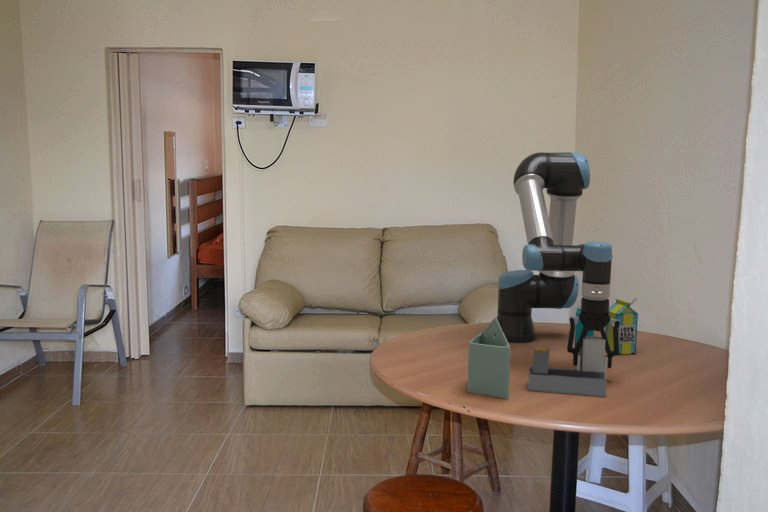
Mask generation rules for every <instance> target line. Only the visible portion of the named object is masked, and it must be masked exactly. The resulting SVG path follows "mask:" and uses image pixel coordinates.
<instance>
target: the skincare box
mask: <svg viewBox="0 0 768 512" xmlns="http://www.w3.org/2000/svg"><path fill="white" fill-rule="evenodd" d="M580 355H581V359H580V370H584V371H597V372H604V365H605V355H606V350H605V340H604V339H602V336H594V337H585V339H583V343H582V346H581V348H580Z"/></svg>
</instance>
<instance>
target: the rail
mask: <svg viewBox="0 0 768 512" xmlns="http://www.w3.org/2000/svg"><path fill="white" fill-rule="evenodd" d="M549 355H550V349H549V348H547V347H536V346H535V347H534V348H533V357H532V358H533V359H532V366H530V365H529V370H528V371H529V372H528V379H527V380H528V383H527V384H528V387H527V388H528V389H527V391H530V392H541V393H555V394H565V395H567V394H568V395H576V396H577V395H578V396H593V397H603V398H604V397H605V398H606V397H607V384H608V383H607V382H608V380H607V379H608V378H607V379H605V372H597V371H584V370H577V369H570V368H556V367H555V368H554V367H549V361H550V357H549Z"/></svg>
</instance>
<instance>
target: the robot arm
mask: <svg viewBox="0 0 768 512" xmlns="http://www.w3.org/2000/svg"><path fill="white" fill-rule="evenodd" d="M590 170H591V169H590V164H589V161H588V159H587V157H586V155H584V154H583V153H579V152H569V151H567V152H566V151H565V152H544V151H543V152H542V151H541V152H534V153H532V154H530V155H528V156H526V157H525V158H523V160H522V161H520V163H519V165H518V166H517V168H516V170H515V172H514V174H513V181H512V182H513V188H514V191H515V193H516V194H517V195H518V198H519V205H520V208H521V214H522V219H523V225H524V231H525V236H526V241H527V244H526V245H524V246H523V248H522V252H521V253H522V255H521V258H522V267H523V268H524V269H516V270H510V271H505V272H503V273H501V274H500V275H499V277H498V285H497V292H498V293H497V294H498V295H497V313H496V314H497V316H496V318H497V320H498V322H499V325H500V327H501V329H502V331H503V333H504V335H505V337H506V339H507V341H508V343H527V342H532V341H534V340H536V339H537V334H536V333H537V331H536V328H535V325H534V321H533V317H532V309H557V310H562V309H570V308H572V307H573V306H574V305H575V303H576V302H577V300H578V296H579V290H580V289H579V288H580V287H579V285H580V284H579V279H578V276H577V275H575V272H582V279H581V280H582V281H581V296H582V298H581V300H580V301H581V302H580V306H581V313H580V315H579V316H577V317H576V316H569V319H568V320H569V325H570V326H569V331H568V332H569V333H568V340H567V346H566V350H567V352H568V353H571V354H572V355H573V356H572V364H573V367H574V366H575V367H576V370H580V359H581V355H580V353H579V350H580V348H581V346H582V343H583V339H585V337H586V334H587V332H588V331H593V330H594V332H600V335H601V336H600V337H602V339H604V340H605V349H606V350H605V353H606V354H605V365H604V372H605V379H608V369H612V366H613V365H612V363H613V357H615V356H617V357H618V356H620V355H619V340H618V328H619V325H620V322H619V320H618V319H616V320H615V319H612V318H610V316H609V308H610V300H609V297H610V296H611V295H610V293H611V278H612V277H611V276H612V261H613V247H612V244H611V243H609V242H604V241H587V242H585V243H581V244H578V245H576V244H575V245H573V243H574V242H573V241H574V234H575V233H574V232H575V221H576V212H577V201H578V199H580V198H581V197H582V196H583V190H587V189H588V188H589V187H590V184H591V171H590ZM544 189H546V192H545V193H546V194H547V195H548V197H549V198H550V200H549V201H550V202H549V210H548V208H547V205H546V200H545V195H544V191H543V190H544ZM548 211H549V213H548ZM534 271H536V272H539V274H534ZM579 320H580V322H581V323H582V324H583V326H584V327H583V329H582V332H581V334H580V337H579V339H578V341H577V343H576V346H575V345H574V346H575V347H573V344H574V339H575V326H576V324H577V323H578V321H579ZM609 322H610V323H611V326H612V327H613V343H614V350H613V351H611V349H610V346H609V343H608V340H607V337H606V334H605V330H606V325H607V324H608V323H609ZM495 337H496V334H495Z"/></svg>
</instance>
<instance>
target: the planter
mask: <svg viewBox="0 0 768 512" xmlns="http://www.w3.org/2000/svg"><path fill="white" fill-rule="evenodd" d="M495 334H496V337H495ZM467 355H468V356H467V359H468V362H467V389H466V390H467V391H466V392H467V393H469V392H471V393H470V394H474V393H476V395H481V396H487V397H492V396H493V398H499V399H503V400H505V399H506V400H509V398H510V377H511V375H510V372H511V346H510V342H508V341H507V339H506V337H505V335H504V333H503V331H502V329H501V327H500V325H499V322H498V320H497V317H494V318H493V319H492V320H491V321H490V322H489V324H488V325H487V326H486V327H484V328H483V330H482V331H480V332H479V334H478V335H476V336H475V337H474V338H473V339H471V340H470V341H469V342H468V354H467Z"/></svg>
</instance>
